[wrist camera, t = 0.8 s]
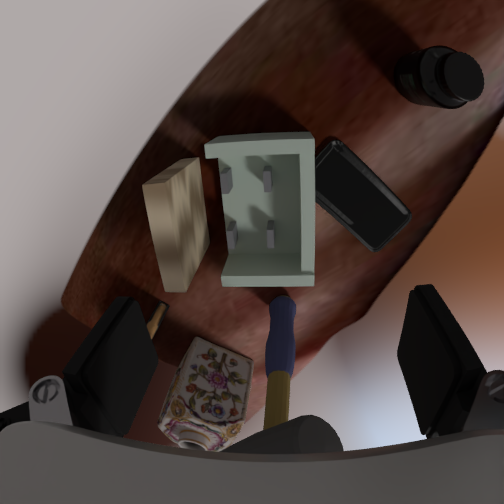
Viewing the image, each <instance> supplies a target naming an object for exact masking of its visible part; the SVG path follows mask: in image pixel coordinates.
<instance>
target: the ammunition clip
mask: <svg viewBox="0 0 504 504" xmlns="http://www.w3.org/2000/svg"><path fill="white" fill-rule="evenodd" d="M168 308H169V305H167V304H165V303H164V302H162V301H159V303H158V304H157V306H156V308H155V310H154V312H153V313H152V315H151V317H150V319H149V320H148V323H147V328H148V331H149V334H150V337H151V339H153V337H154V335H155V333H156V331H157V330H158V328H159V326H160V324H161V322H162V320H163V318H164V316H165V314H166V312H167V310H168Z"/></svg>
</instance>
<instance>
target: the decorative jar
mask: <svg viewBox="0 0 504 504" xmlns="http://www.w3.org/2000/svg"><path fill="white" fill-rule="evenodd" d="M253 365H254V362H253V360H250V359H248V358H245V357H243V356H241V355H239V354H236V353H234V352H231V351H229V350H227V349H225V348H222V347H220V346H217V345H215V344H213V343H210V342H208V341H206V340H204V339H202V338H200V337H195V338H194V339H193V341H192V343H191V345H190V347H189V348H188V350H187V352H186V354H185V355H184V357H183V359H182V361H181V363H180V365H179V367H178V368H177V370H176V373H175V376H174V378H173V380H172V383H171V386H170V388H169V391H168V394H167V396H166V399H165V402H164V404H163V407H162V410H161V413H160V416H159V419H158V420H157V423H158V427H159V428H160V429H161V431H162V432H163V433H164V434H165V435H166V436H167V437H168V438H170V439H171V440H172V441H173V442H175V443H177V444H178V445H179V446H180V447H181V448H186V449H194V450H203V451H214V452H219V451H221V450H223V449H225V448H227V447H229V446H230V445H231V444H232V443H233V441H234V440H235V438H236V436H237V434H238V433H239V432H240V430H241V428H242V426H243V424H245V419H246V411H247V405H248V400H249V394H250V388H251V381H252V373H253Z"/></svg>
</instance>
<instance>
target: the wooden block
mask: <svg viewBox="0 0 504 504" xmlns="http://www.w3.org/2000/svg"><path fill="white" fill-rule="evenodd" d="M142 188H143V193H144V199H145V204H146V209H147V214H148V219H149V224H150V229H151V233H152V238H153V243H154V247H155V252H156V256H157V260H158V264H159V269H160V273H161V277H162V281H163V285H164V289H165V292H186V291H187V289H188V287H189V285H190V282H191V280H192V278H193V276H194V274H195V272H196V270H197V268H198V266H199V264H200V262H201V260H202V258H203V256H204V254H205V252H206V250H207V248H208V246H209V244H210V238H209V231H208V224H207V217H206V209H205V202H204V194H203V186H202V178H201V170H200V162H199V157H198V158H187V159H181V160H179V161H177V162H176V163H174V164H173V165H171V166H170V167H168V168H167V169H165V170H164V171H162V172H160V173H159V174H157V175H156V176H154V177H153V178H151V179H150V180H149V181H147V182H146V183H144V184H143V185H142Z"/></svg>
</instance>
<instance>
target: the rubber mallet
mask: <svg viewBox="0 0 504 504" xmlns="http://www.w3.org/2000/svg"><path fill="white" fill-rule="evenodd" d="M269 313H270V317H271V320H270V331H269V336H268V339H267V342H266V351H265V366H266V375H267V378H268V382H267V394H266V406H265V418H264V428H263V431H260V432H257V433H255V434H253V435H251V436H249V437H247V438H245V439H243V440H241V441H239V442H237V443H235V444H233V445H231V446H229V447H227V448H225V449H223V450H221V451H219V452H227V453H244V454H311V453H328V452H341V451H343V446H342V443H341V441H340V438H339V437H338V435H337V433H336V432H335V430H334V429H333V428H332V427H331V426H330V424H329V423H327V422H326V421H324V420H323V419H321V418H320V417H317V416H314V415H305V416H300V417H297V418H295V419H292V420H289V421H288V413H289V394H290V378H291V376H292V374H293V369H294V362H295V339H294V333H293V324H294V317H295V314H296V304H295V302H294V301H293V300H292V299H291V298H290V297H288V296H285V295H281V296H278V297H276V298H275V299H274V300H273V301H271V303H270V305H269Z"/></svg>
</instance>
